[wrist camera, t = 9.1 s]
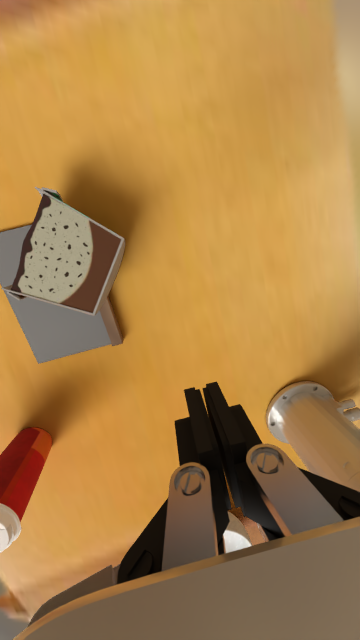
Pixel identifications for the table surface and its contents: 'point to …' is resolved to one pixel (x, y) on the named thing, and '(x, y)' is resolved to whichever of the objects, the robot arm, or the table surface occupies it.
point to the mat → (47, 312)
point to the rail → (111, 323)
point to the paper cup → (20, 478)
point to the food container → (67, 258)
